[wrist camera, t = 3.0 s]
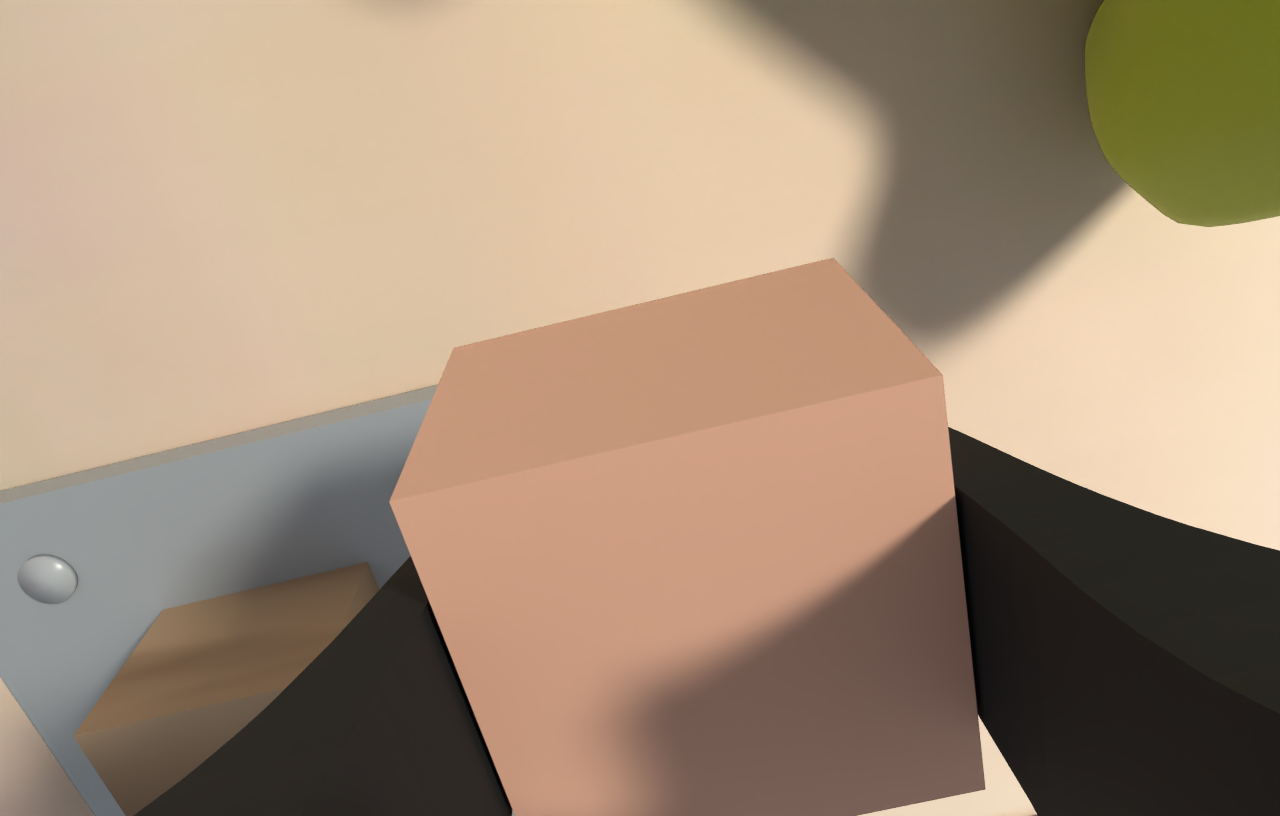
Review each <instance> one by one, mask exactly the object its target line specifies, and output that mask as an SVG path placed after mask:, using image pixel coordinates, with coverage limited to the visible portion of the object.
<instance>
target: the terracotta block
mask: <svg viewBox="0 0 1280 816" xmlns="http://www.w3.org/2000/svg"><path fill="white" fill-rule="evenodd" d="M389 502H390V505H391V507H392V510H393V512H394V515H395V517H396V520H397V522H398V525H399V527H400V530H401V532H402V535H403V537H404V540H405V542H406V545H407V547H408V550H409V552H410V555H411V557H412V560H413V562H414V565H415V567H416V570H417V572H418V575H419V577H420V580H421V582H422V585H423V587H424V590H425V592H426V595H427V597H428V600H429V602H430V605H431V607H432V610H433V612H434V615H435V617H436V620H437V622H438V625H439V627H440V630H441V632H442V635H443V637H444V640H445V642H446V645H447V647H448V650H449V652H450V655H451V657H452V660H453V662H454V665H455V667H456V670H457V672H458V675H459V677H460V680H461V682H462V685H463V687H464V690H465V692H466V695H467V697H468V700H469V702H470V705H471V707H472V710H473V712H474V715H475V717H476V720H477V722H478V725H479V727H480V730H481V732H482V735H483V737H484V740H485V742H486V745H487V747H488V750H489V752H490V755H491V757H492V760H493V762H494V765H495V767H496V770H497V772H498V775H499V777H500V780H501V782H502V785H503V787H504V790H505V792H506V794H507V797H508V799H509V802H510V804H511V807H512V809H513V812H514V814H515V816H857V815H862V814H867V813H872V812H876V811H881V810H886V809H891V808H896V807H901V806H906V805H911V804H916V803H921V802H926V801H930V800H935V799H940V798H945V797H950V796H955V795H960V794H965V793H970V792H975V791H979V790H984V789H985V781H984V771H983V761H982V752H981V742H980V732H979V722H978V713H977V703H976V693H975V684H974V674H973V664H972V655H971V645H970V635H969V625H968V616H967V606H966V596H965V587H964V577H963V567H962V558H961V548H960V538H959V528H958V519H957V509H956V499H955V490H954V480H953V470H952V461H951V451H950V441H949V431H948V422H947V412H946V402H945V393H944V383H943V375H942V374H941V373H940V372H939V370H938V369H937V368H936V367H935V366H934V365H933V364H932V363H931V362H930V361H929V360H928V359H927V358H926V357H925V355H924V354H923V353H922V352H921V351H920V350H919V349H918V348H917V347H916V346H915V345H914V344H913V343H912V342H911V341H910V339H909V338H908V337H907V336H906V335H905V334H904V333H903V332H902V331H901V330H900V329H899V328H898V327H897V326H896V324H895V323H894V322H893V321H892V320H891V319H890V318H889V317H888V316H887V315H886V314H885V313H884V312H883V311H882V310H881V308H880V307H879V306H878V305H877V304H876V303H875V302H874V301H873V300H872V299H871V298H870V297H869V296H868V295H867V293H866V292H865V291H864V290H863V289H862V288H861V287H860V286H859V285H858V284H857V283H856V282H855V281H854V280H853V279H852V277H851V276H850V275H849V274H848V273H847V272H846V271H845V270H844V269H843V268H842V267H841V266H840V265H839V264H838V263H837V261H836V260H835V259H834V258H830V259H826V260H822V261H817V262H813V263H809V264H805V265H801V266H796V267H792V268H788V269H784V270H779V271H775V272H771V273H767V274H763V275H758V276H754V277H750V278H746V279H742V280H737V281H733V282H729V283H725V284H721V285H716V286H712V287H708V288H704V289H699V290H695V291H691V292H687V293H683V294H678V295H674V296H670V297H666V298H662V299H657V300H653V301H649V302H645V303H641V304H636V305H632V306H628V307H624V308H619V309H615V310H611V311H607V312H603V313H598V314H594V315H590V316H586V317H582V318H577V319H573V320H569V321H565V322H561V323H556V324H552V325H548V326H544V327H539V328H535V329H531V330H527V331H523V332H518V333H514V334H510V335H506V336H502V337H497V338H493V339H489V340H485V341H481V342H476V343H472V344H468V345H464V346H459V347H455V348H453V351H452V353H451V355H450V358H449V360H448V363H447V365H446V367H445V370H444V372H443V374H442V377H441V379H440V382H439V384H438V386H437V389H436V391H435V394H434V396H433V398H432V401H431V403H430V405H429V408H428V410H427V413H426V415H425V417H424V420H423V422H422V425H421V427H420V429H419V432H418V434H417V437H416V439H415V441H414V444H413V446H412V448H411V451H410V453H409V456H408V458H407V460H406V463H405V465H404V468H403V470H402V472H401V475H400V477H399V479H398V482H397V484H396V487H395V489H394V491H393V494H392V496H391V499H390V501H389Z"/></svg>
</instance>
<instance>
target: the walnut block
mask: <svg viewBox="0 0 1280 816" xmlns="http://www.w3.org/2000/svg"><path fill="white" fill-rule="evenodd" d="M379 590H380V589H379V586H378V584H377V582H376V580H375V577H374V575H373V573H372V570H371V568H370V566H369V563H368V562H365V563H361V564H356V565H352V566H348V567H344V568H339V569H335V570H331V571H326V572H322V573H318V574H314V575H309V576H305V577H301V578H296V579H292V580H288V581H284V582H279V583H275V584H271V585H266V586H262V587H258V588H253V589H249V590H245V591H241V592H236V593H232V594H228V595H223V596H219V597H215V598H211V599H206V600H202V601H198V602H193V603H189V604H185V605H181V606H176V607H172V608H168V609H163V610H162V612H161V613H160V614H159V616H158V617H157V619H156V620H155V621H154V623H153V624H152V626H151V627H150V628H149V630H148V631H147V633H146V634H145V635H144V637H143V638H142V640H141V641H140V642H139V644H138V645H137V647H136V648H135V650H134V651H133V652H132V654H131V655H130V657H129V658H128V659H127V661H126V662H125V664H124V665H123V666H122V668H121V669H120V671H119V672H118V673H117V675H116V676H115V678H114V679H113V680H112V682H111V683H110V685H109V686H108V687H107V689H106V690H105V692H104V693H103V694H102V696H101V697H100V699H99V700H98V702H97V703H96V704H95V706H94V707H93V709H92V710H91V711H90V713H89V714H88V716H87V717H86V718H85V720H84V721H83V723H82V724H81V725H80V727H79V728H78V730H77V731H76V732H75V734H74V735H73V737H74V739H75V740H76V742H77V743H78V745H79V746H80V748H81V749H82V751H83V752H84V754H85V755H86V757H87V758H88V760H89V761H90V763H91V764H92V766H93V767H94V769H95V770H96V772H97V773H98V775H99V776H100V778H101V779H102V781H103V782H104V784H105V785H106V787H107V788H108V790H109V792H110V793H111V795H112V796H113V798H114V799H115V801H116V802H117V804H118V805H119V807H120V808H121V810H122V811H123V813H124V814H125V816H133V815H135V814H136V813H137V812H139V811H140V810H142V809H143V808H144V807H146V806H147V805H148V804H150V803H151V802H152V801H154V800H155V799H156V798H158V797H159V796H160V795H162V794H163V793H164V792H166V791H167V790H168V789H170V788H171V787H173V786H174V785H175V784H177V783H178V782H179V781H181V780H182V779H183V778H184V777H186V776H187V775H188V774H189V773H191V772H192V771H193V770H194V769H196V768H197V767H198V766H199V765H200V764H202V763H203V762H204V761H205V760H206V759H207V758H209V757H210V756H211V755H212V754H213V753H215V752H216V751H217V750H218V749H219V748H220V747H222V746H223V745H224V744H225V743H226V742H228V741H229V740H230V739H231V738H232V737H234V736H235V735H236V734H237V733H238V732H239V731H240V730H242V729H243V728H244V727H245V726H246V725H247V724H248V723H249V722H250V721H252V720H253V719H254V718H255V717H256V716H257V715H258V714H259V713H260V712H261V711H263V710H264V709H265V708H266V707H267V706H268V705H269V704H270V703H271V702H272V701H273V700H274V699H275V698H276V697H277V696H278V695H279V694H280V693H281V692H282V691H283V690H284V689H285V688H286V687H287V686H288V685H289V684H290V683H291V682H292V681H293V680H294V679H295V678H296V677H297V676H298V675H299V674H300V673H301V672H302V671H303V670H304V669H305V668H306V667H307V666H308V665H309V664H310V663H311V662H312V661H313V660H314V659H315V658H316V657H317V656H318V655H319V654H320V653H321V652H322V651H323V650H324V649H325V648H326V647H327V646H328V645H329V644H330V643H331V642H332V641H333V640H334V639H335V638H336V637H337V636H338V635H339V634H340V632H341V631H342V630H343V629H344V628H345V627H346V626H347V625H348V624H349V623H350V622H351V620H352V619H353V618H354V617H355V616H356V615H357V614H358V613H359V612H360V611H361V610H362V608H363V607H364V606H365V605H366V604H367V603H368V602H369V601H370V600H371V599H372V598H373V596H374V595H375V594H376V593H377V592H378V591H379Z"/></svg>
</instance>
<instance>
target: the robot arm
mask: <svg viewBox="0 0 1280 816" xmlns="http://www.w3.org/2000/svg"><path fill="white" fill-rule="evenodd" d="M948 431H949V441H950V451H951V461H952V470H953V480H954V490H955V499H956V509H957V519H958V528H959V538H960V548H961V558H962V567H963V577H964V587H965V596H966V606H967V616H968V625H969V635H970V645H971V655H972V664H973V674H974V684H975V693H976V703H977V713H978V715H979V717H980V719H981V720H982V722H983V724H984V725H985V727H986V729H987V730H988V732H989V734H990V735H991V737H992V739H993V740H994V742H995V744H996V745H997V747H998V749H999V750H1000V752H1001V753H1002V755H1003V757H1004V758H1005V760H1006V762H1007V763H1008V765H1009V767H1010V768H1011V770H1012V772H1013V773H1014V775H1015V777H1016V778H1017V780H1018V782H1019V783H1020V785H1021V787H1022V788H1023V790H1024V792H1025V793H1026V795H1027V797H1028V798H1029V800H1030V802H1031V804H1032V805H1033V807H1034V809H1035V811H1036V813H1037V815H1038V816H1280V551H1279V550H1275V549H1271V548H1267V547H1263V546H1259V545H1255V544H1252V543H1248V542H1245V541H1241V540H1238V539H1234V538H1231V537H1227V536H1224V535H1220V534H1217V533H1213V532H1210V531H1206V530H1203V529H1199V528H1196V527H1192V526H1189V525H1186V524H1183V523H1180V522H1177V521H1174V520H1171V519H1167V518H1164V517H1161V516H1158V515H1156V514H1153V513H1150V512H1147V511H1145V510H1142V509H1139V508H1136V507H1134V506H1131V505H1128V504H1126V503H1123V502H1120V501H1118V500H1115V499H1112V498H1109V497H1107V496H1104V495H1101V494H1099V493H1096V492H1094V491H1092V490H1089V489H1087V488H1084V487H1082V486H1079V485H1077V484H1074V483H1072V482H1070V481H1067V480H1065V479H1062V478H1060V477H1058V476H1055V475H1053V474H1051V473H1049V472H1046V471H1044V470H1042V469H1039V468H1037V467H1035V466H1033V465H1031V464H1028V463H1026V462H1024V461H1022V460H1020V459H1017V458H1015V457H1013V456H1011V455H1009V454H1007V453H1004V452H1002V451H1000V450H998V449H996V448H994V447H991V446H989V445H987V444H985V443H983V442H981V441H979V440H976V439H974V438H972V437H970V436H968V435H966V434H963V433H961V432H959V431H957V430H954V429H952V428H949V427H948ZM512 810H513V809H512V807H511V804H510V802H509V799H508V797H507V794H506V792H505V790H504V787H503V785H502V782H501V780H500V777H499V775H498V772H497V770H496V767H495V765H494V762H493V760H492V757H491V755H490V752H489V750H488V747H487V745H486V742H485V740H484V737H483V735H482V732H481V730H480V727H479V725H478V722H477V720H476V717H475V715H474V712H473V710H472V707H471V705H470V702H469V700H468V697H467V695H466V692H465V690H464V687H463V685H462V682H461V680H460V677H459V675H458V672H457V670H456V667H455V665H454V662H453V660H452V657H451V655H450V652H449V650H448V647H447V645H446V642H445V640H444V637H443V635H442V632H441V630H440V627H439V625H438V622H437V620H436V617H435V615H434V612H433V610H432V607H431V605H430V602H429V600H428V597H427V595H426V592H425V590H424V587H423V585H422V582H421V580H420V577H419V575H418V572H417V570H416V567H415V565H414V562H413V560H412V557H411V556H410V557H409V558H408V559H407V560H406V561H405V562H404V563H403V564H402V566H401V567H400V568H399V569H398V570H397V571H396V572H395V573H394V574H393V575H392V576H391V578H390V579H389V580H388V581H387V582H386V583H385V584H384V585H383V586H382V588H381V589H380V590H379V591H378V592H377V593H376V594H375V595H374V596H373V598H372V599H371V600H370V601H369V602H368V603H367V604H366V605H365V606H364V607H363V608H362V610H361V611H360V612H359V613H358V614H357V615H356V616H355V617H354V618H353V619H352V620H351V622H350V623H349V624H348V625H347V626H346V627H345V628H344V629H343V630H342V631H341V632H340V634H339V635H338V636H337V637H336V638H335V639H334V640H333V641H332V642H331V643H330V644H329V645H328V646H327V647H326V648H325V649H324V650H323V651H322V652H321V653H320V654H319V655H318V656H317V657H316V658H315V659H314V660H313V661H312V662H311V663H310V664H309V665H308V666H307V667H306V668H305V669H304V670H303V671H302V672H301V673H300V674H299V675H298V676H297V677H296V678H295V679H294V680H293V681H292V682H291V683H290V684H289V685H288V686H287V687H286V688H285V689H284V690H283V691H282V692H281V693H280V694H279V695H278V696H277V697H276V698H275V699H274V700H273V701H272V702H271V703H270V704H269V705H268V706H267V707H266V708H265V709H264V710H263V711H261V712H260V713H259V714H258V715H257V716H256V717H255V718H254V719H253V720H252V721H250V722H249V723H248V724H247V725H246V726H245V727H244V728H243V729H242V730H240V731H239V732H238V733H237V734H236V735H235V736H234V737H232V738H231V739H230V740H229V741H228V742H226V743H225V744H224V745H223V746H222V747H220V748H219V749H218V750H217V751H216V752H215V753H213V754H212V755H211V756H210V757H209V758H207V759H206V760H205V761H204V762H203V763H202V764H200V765H199V766H198V767H197V768H196V769H194V770H193V771H192V772H191V773H189V774H188V775H187V776H186V777H184V778H183V779H182V780H181V781H179V782H178V783H177V784H175V785H174V786H173V787H171V788H170V789H168V790H167V791H166V792H164V793H163V794H162V795H160V796H159V797H158V798H156V799H155V800H154V801H152V802H151V803H150V804H148V805H147V806H146V807H144V808H143V809H142V810H140V811H139V812H137V813H136V814H135V815H133V816H512Z"/></svg>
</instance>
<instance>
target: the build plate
mask: <svg viewBox="0 0 1280 816" xmlns="http://www.w3.org/2000/svg"><path fill="white" fill-rule="evenodd" d="M437 386H438V385H434V386H430V387H426V388H422V389H418V390H414V391H410V392H406V393H401V394H397V395H393V396H389V397H385V398H381V399H377V400H373V401H369V402H364V403H360V404H356V405H352V406H348V407H344V408H340V409H336V410H332V411H327V412H323V413H319V414H315V415H311V416H307V417H303V418H299V419H295V420H291V421H286V422H282V423H278V424H274V425H270V426H266V427H262V428H258V429H254V430H249V431H245V432H241V433H237V434H233V435H229V436H225V437H221V438H217V439H212V440H208V441H204V442H200V443H196V444H192V445H188V446H184V447H180V448H175V449H171V450H167V451H163V452H159V453H155V454H151V455H147V456H143V457H138V458H134V459H130V460H126V461H122V462H118V463H114V464H110V465H106V466H101V467H97V468H93V469H89V470H85V471H81V472H77V473H73V474H69V475H65V476H60V477H56V478H52V479H48V480H44V481H40V482H36V483H32V484H28V485H23V486H19V487H15V488H11V489H7V490H3V491H0V677H1V679H2V680H3V682H4V683H5V684H6V686H7V687H8V689H9V690H10V692H11V693H12V695H13V696H14V698H15V699H16V701H17V702H18V704H19V705H20V706H21V708H22V709H23V711H24V712H25V714H26V715H27V717H28V718H29V720H30V721H31V723H32V724H33V726H34V727H35V728H36V730H37V731H38V733H39V734H40V736H41V737H42V739H43V740H44V742H45V743H46V745H47V746H48V748H49V749H50V750H51V752H52V753H53V755H54V756H55V758H56V759H57V761H58V762H59V764H60V765H61V767H62V768H63V770H64V771H65V772H66V774H67V775H68V777H69V778H70V780H71V781H72V783H73V784H74V786H75V787H76V789H77V790H78V792H79V793H80V794H81V796H82V797H83V799H84V800H85V802H86V803H87V805H88V806H89V808H90V809H91V811H92V812H93V814H94V815H95V816H125V814H124V813H123V811H122V810H121V808H120V807H119V805H118V804H117V802H116V801H115V799H114V798H113V796H112V795H111V793H110V792H109V790H108V788H107V787H106V785H105V784H104V782H103V781H102V779H101V778H100V776H99V775H98V773H97V772H96V770H95V769H94V767H93V766H92V764H91V763H90V761H89V760H88V758H87V757H86V755H85V754H84V752H83V751H82V749H81V748H80V746H79V745H78V743H77V742H76V740H75V739H74V737H73V735H74V734H75V732H76V731H77V730H78V728H79V727H80V725H81V724H82V723H83V721H84V720H85V718H86V717H87V716H88V714H89V713H90V711H91V710H92V709H93V707H94V706H95V704H96V703H97V702H98V700H99V699H100V697H101V696H102V694H103V693H104V692H105V690H106V689H107V687H108V686H109V685H110V683H111V682H112V680H113V679H114V678H115V676H116V675H117V673H118V672H119V671H120V669H121V668H122V666H123V665H124V664H125V662H126V661H127V659H128V658H129V657H130V655H131V654H132V652H133V651H134V650H135V648H136V647H137V645H138V644H139V642H140V641H141V640H142V638H143V637H144V635H145V634H146V633H147V631H148V630H149V628H150V627H151V626H152V624H153V623H154V621H155V620H156V619H157V617H158V616H159V614H160V613H161V612H162V610H163V609H168V608H172V607H176V606H181V605H185V604H189V603H193V602H198V601H202V600H206V599H211V598H215V597H219V596H223V595H228V594H232V593H236V592H241V591H245V590H249V589H253V588H258V587H262V586H266V585H271V584H275V583H279V582H284V581H288V580H292V579H296V578H301V577H305V576H309V575H314V574H318V573H322V572H326V571H331V570H335V569H339V568H344V567H348V566H352V565H356V564H361V563H365V562H368V563H369V566H370V568H371V570H372V573H373V575H374V577H375V580H376V582H377V584H378V586H379V589H381V588H382V586H383V585H384V584H385V583H386V582H387V581H388V580H389V579H390V578H391V576H392V575H393V574H394V573H395V572H396V571H397V570H398V569H399V568H400V567H401V566H402V564H403V563H404V562H405V561H406V560H407V559H408V558H409V557H410V556H411V555H410V552H409V550H408V547H407V545H406V542H405V540H404V537H403V535H402V532H401V530H400V527H399V525H398V522H397V520H396V517H395V515H394V512H393V510H392V507H391V505H390V502H389V501H390V499H391V496H392V494H393V491H394V489H395V487H396V484H397V482H398V479H399V477H400V475H401V472H402V470H403V468H404V465H405V463H406V460H407V458H408V456H409V453H410V451H411V448H412V446H413V444H414V441H415V439H416V437H417V434H418V432H419V429H420V427H421V425H422V422H423V420H424V417H425V415H426V413H427V410H428V408H429V405H430V403H431V401H432V398H433V396H434V394H435V391H436V389H437ZM512 816H515V814H514V812H513V810H512Z"/></svg>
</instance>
